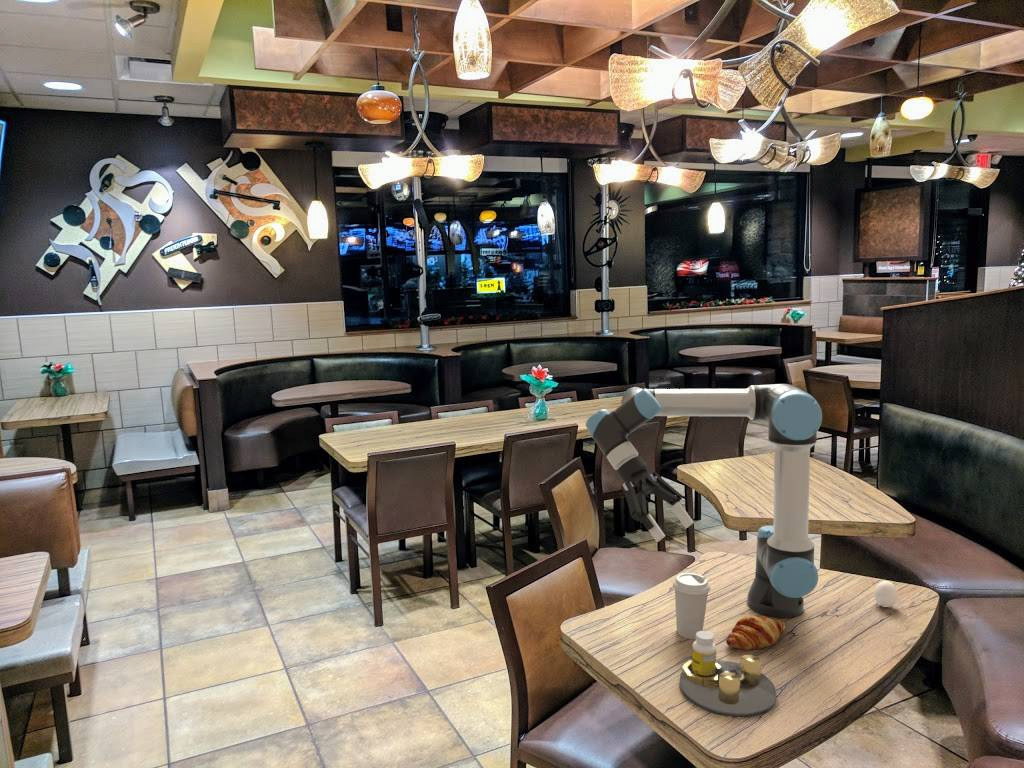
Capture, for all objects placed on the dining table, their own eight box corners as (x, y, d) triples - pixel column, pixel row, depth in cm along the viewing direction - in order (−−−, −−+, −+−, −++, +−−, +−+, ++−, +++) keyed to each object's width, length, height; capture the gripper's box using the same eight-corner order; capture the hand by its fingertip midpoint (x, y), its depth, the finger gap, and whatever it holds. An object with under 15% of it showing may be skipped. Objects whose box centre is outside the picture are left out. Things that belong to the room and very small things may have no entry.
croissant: (773, 638, 201) (763, 608, 203) (803, 635, 193) (792, 604, 195) (719, 658, 190) (709, 626, 192) (748, 656, 181) (738, 622, 184)
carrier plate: (750, 663, 181) (752, 638, 180) (793, 714, 161) (795, 686, 160) (667, 668, 179) (668, 643, 178) (699, 720, 158) (700, 692, 157)
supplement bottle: (688, 668, 176) (689, 629, 174) (710, 667, 176) (712, 628, 175) (695, 680, 171) (697, 640, 169) (718, 679, 171) (720, 640, 170)
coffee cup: (709, 643, 191) (711, 588, 188) (671, 640, 193) (673, 585, 190) (707, 626, 200) (709, 573, 198) (670, 623, 202) (672, 570, 200)
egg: (868, 603, 214) (870, 578, 213) (886, 601, 216) (888, 576, 215) (883, 612, 209) (885, 586, 207) (901, 610, 210) (904, 584, 209)
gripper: (645, 462, 205) (691, 527, 197) (590, 480, 187) (638, 553, 180) (662, 446, 201) (710, 512, 193) (607, 463, 183) (658, 537, 175)
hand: (676, 532), depth 186 cm, fingers open, 13 cm apart
